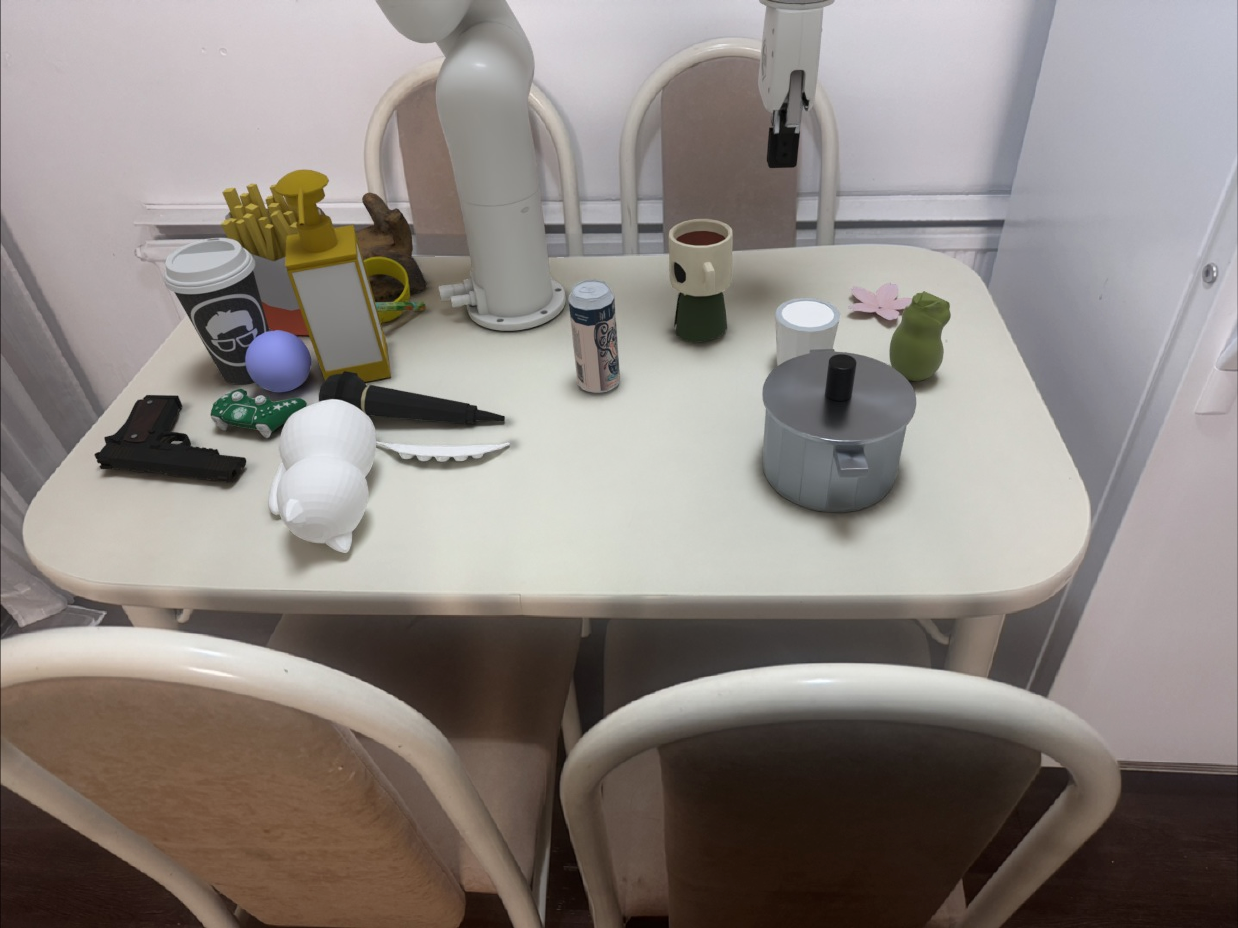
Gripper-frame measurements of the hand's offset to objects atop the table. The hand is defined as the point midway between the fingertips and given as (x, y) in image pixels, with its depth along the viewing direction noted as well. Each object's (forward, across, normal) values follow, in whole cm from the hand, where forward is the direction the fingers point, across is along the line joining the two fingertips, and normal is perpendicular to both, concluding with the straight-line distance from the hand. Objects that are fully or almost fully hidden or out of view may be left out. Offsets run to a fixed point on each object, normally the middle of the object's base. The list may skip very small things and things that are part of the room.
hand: (781, 164), depth 98 cm
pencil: (+9, +14, -51) cm, 54 cm away
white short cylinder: (+17, +16, +2) cm, 23 cm away
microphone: (+17, +24, -31) cm, 43 cm away
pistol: (+18, +19, -64) cm, 69 cm away
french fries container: (+18, +3, -59) cm, 62 cm away
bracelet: (+13, +1, -49) cm, 51 cm away
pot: (+17, +33, +2) cm, 37 cm away
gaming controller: (+16, +19, -58) cm, 63 cm away
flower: (+17, +4, +13) cm, 21 cm away
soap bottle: (+18, +15, -49) cm, 54 cm away
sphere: (+17, +13, -56) cm, 60 cm away
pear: (+17, +18, +13) cm, 28 cm away
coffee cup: (+19, +11, -63) cm, 67 cm away
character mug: (+17, +8, -9) cm, 21 cm away
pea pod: (+16, +29, -38) cm, 50 cm away
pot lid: (+8, +33, +2) cm, 34 cm away
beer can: (+18, +17, -21) cm, 32 cm away
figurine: (+18, -19, -60) cm, 66 cm away
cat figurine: (+14, +29, -48) cm, 57 cm away
